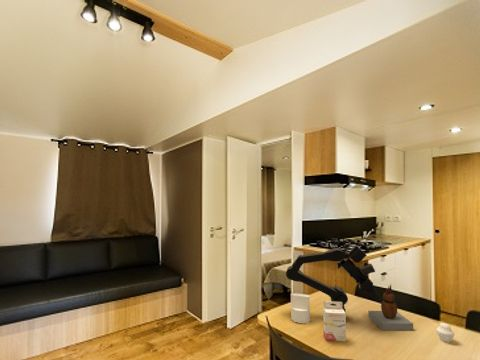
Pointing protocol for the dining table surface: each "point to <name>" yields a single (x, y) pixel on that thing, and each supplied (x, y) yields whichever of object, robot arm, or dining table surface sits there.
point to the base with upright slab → (300, 308)
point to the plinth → (390, 321)
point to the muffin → (445, 332)
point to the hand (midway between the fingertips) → (376, 293)
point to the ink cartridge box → (334, 321)
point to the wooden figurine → (389, 304)
